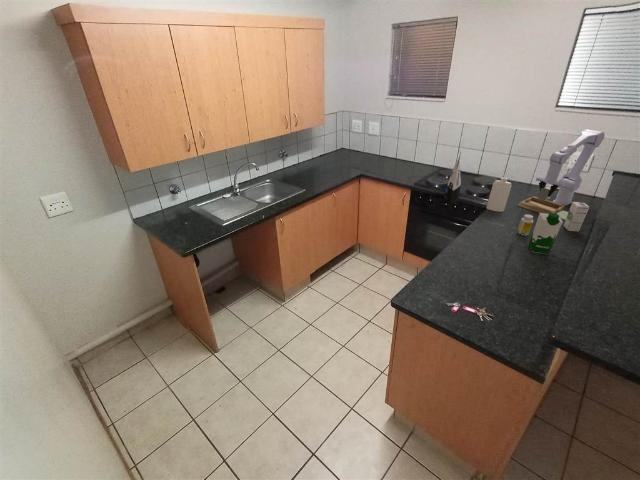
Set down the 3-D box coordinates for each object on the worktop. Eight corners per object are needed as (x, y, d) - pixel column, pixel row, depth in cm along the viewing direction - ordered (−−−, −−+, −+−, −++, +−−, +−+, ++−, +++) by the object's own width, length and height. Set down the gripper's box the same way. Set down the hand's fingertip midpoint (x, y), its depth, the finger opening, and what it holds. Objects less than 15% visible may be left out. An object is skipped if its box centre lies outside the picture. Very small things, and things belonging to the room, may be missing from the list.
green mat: (561, 211, 191) (562, 210, 191) (575, 215, 186) (575, 214, 186) (552, 216, 185) (552, 215, 185) (565, 220, 180) (565, 219, 180)
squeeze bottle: (486, 206, 198) (485, 209, 194) (495, 175, 188) (494, 178, 184) (504, 209, 193) (503, 212, 190) (513, 178, 183) (513, 180, 180)
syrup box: (579, 231, 169) (590, 206, 162) (566, 230, 170) (577, 205, 163) (574, 226, 174) (585, 202, 166) (562, 225, 175) (572, 201, 167)
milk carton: (529, 253, 151) (544, 215, 141) (525, 244, 159) (539, 207, 148) (550, 256, 149) (567, 218, 139) (545, 247, 156) (561, 210, 146)
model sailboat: (459, 192, 218) (469, 148, 203) (457, 205, 199) (468, 158, 184) (444, 190, 222) (453, 147, 206) (441, 203, 202) (451, 156, 187)
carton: (532, 200, 205) (533, 195, 204) (562, 209, 192) (564, 205, 191) (518, 206, 197) (519, 202, 196) (549, 216, 184) (551, 212, 183)
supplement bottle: (531, 234, 167) (537, 217, 162) (523, 236, 165) (529, 219, 160) (522, 230, 171) (528, 212, 166) (514, 231, 170) (520, 214, 164)
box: (542, 196, 195) (546, 186, 192) (550, 198, 192) (554, 188, 189) (537, 198, 191) (541, 188, 188) (544, 200, 188) (548, 190, 185)
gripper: (536, 171, 187) (529, 193, 194) (563, 178, 177) (554, 200, 184) (542, 169, 190) (535, 190, 197) (569, 175, 180) (560, 197, 187)
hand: (545, 195), depth 191 cm, fingers closed on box, 4 cm apart
